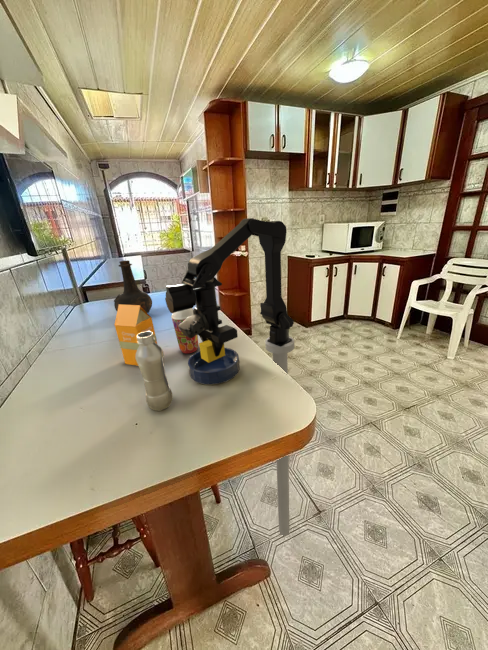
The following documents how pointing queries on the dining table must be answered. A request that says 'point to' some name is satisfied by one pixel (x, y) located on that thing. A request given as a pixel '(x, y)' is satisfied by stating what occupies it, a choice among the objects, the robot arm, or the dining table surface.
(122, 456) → the dining table surface
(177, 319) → the smoothie
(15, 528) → the dining table surface
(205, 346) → the sponge
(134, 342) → the orange juice
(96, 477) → the dining table surface
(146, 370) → the plastic bottle
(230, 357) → the bowl
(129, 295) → the glass bottle
